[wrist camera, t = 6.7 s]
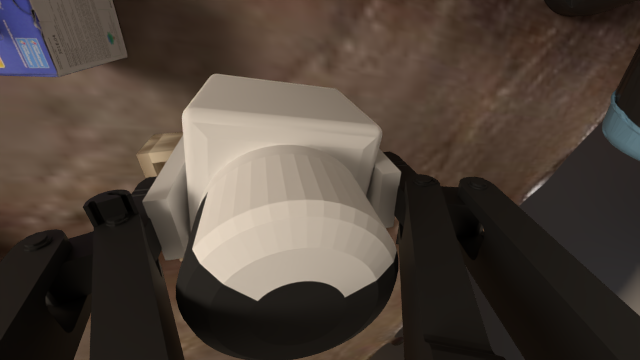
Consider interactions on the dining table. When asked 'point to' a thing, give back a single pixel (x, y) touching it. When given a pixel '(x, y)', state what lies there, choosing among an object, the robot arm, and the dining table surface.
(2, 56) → the ink cartridge box
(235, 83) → the medicine bottle
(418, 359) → the robot arm
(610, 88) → the dining table surface
